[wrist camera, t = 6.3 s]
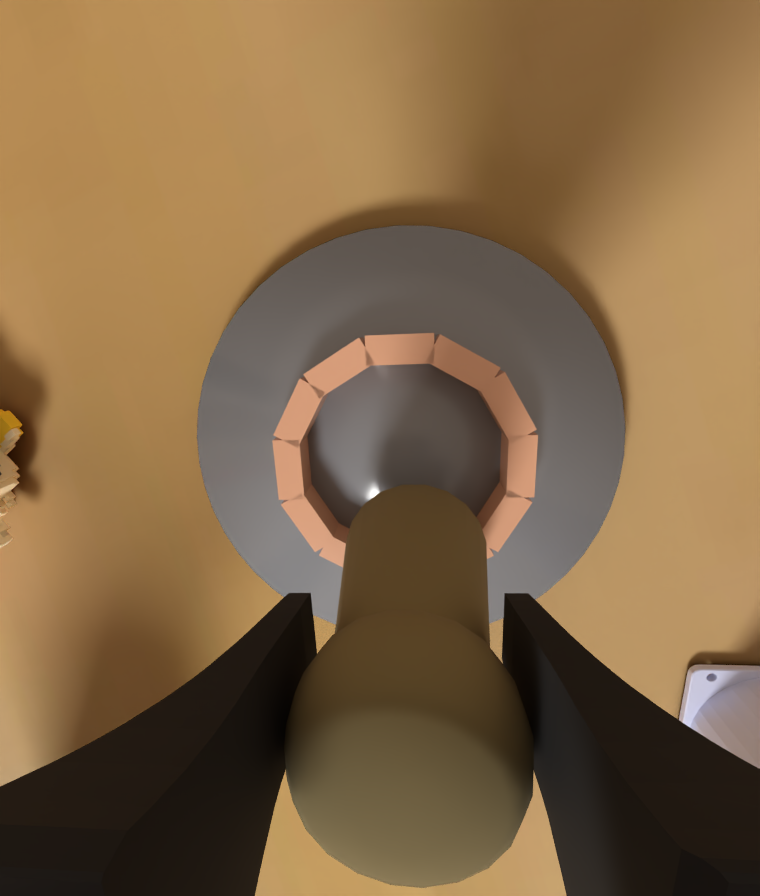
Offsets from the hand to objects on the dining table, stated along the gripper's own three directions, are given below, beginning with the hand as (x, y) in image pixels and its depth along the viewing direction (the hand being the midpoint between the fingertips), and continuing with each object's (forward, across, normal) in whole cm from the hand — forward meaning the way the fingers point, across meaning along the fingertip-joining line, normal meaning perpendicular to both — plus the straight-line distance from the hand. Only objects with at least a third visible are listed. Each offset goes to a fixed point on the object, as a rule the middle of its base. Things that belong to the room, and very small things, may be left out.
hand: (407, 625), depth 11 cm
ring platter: (+10, 0, -2) cm, 11 cm away
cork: (+7, 0, +2) cm, 7 cm away
